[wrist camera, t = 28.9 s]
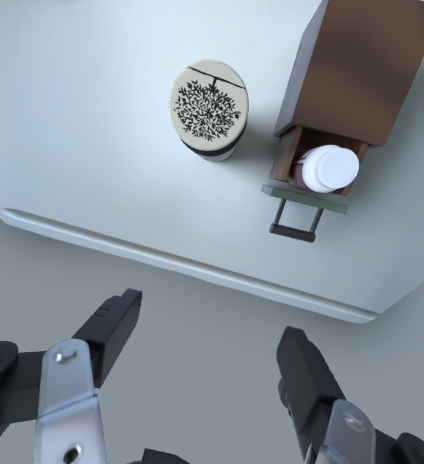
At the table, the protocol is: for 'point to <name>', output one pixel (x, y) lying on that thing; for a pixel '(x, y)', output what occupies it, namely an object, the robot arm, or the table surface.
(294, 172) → the pill bottle
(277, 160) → the drawer
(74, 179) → the table surface
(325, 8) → the cabinet
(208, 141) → the travel mug
